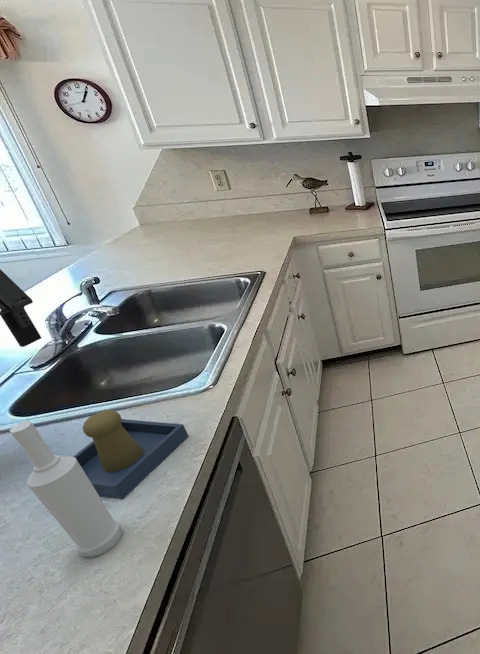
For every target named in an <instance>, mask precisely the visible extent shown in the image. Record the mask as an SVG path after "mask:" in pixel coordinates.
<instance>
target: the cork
mask: <svg viewBox="0 0 480 654" xmlns="http://www.w3.org/2000/svg"><path fill="white" fill-rule="evenodd" d="M122 419H123V418H122V416H121V414H120V413H119V412H117V411H116V410H112V409H106V410H102V411H99V412H96V413H94V414H92V415H91V416H90V417H88V418H86V419H85V421H84V422H83V425H82V431H83V433H84V435H86V436H87V437H89V438H91V439H92V441H94V443H95V446H96V449H97V452H98V455H99V458H100V460H101V463H102V466H103V469H104V471H106V472H116V471H120V470H122V469H125V468H127V467H129V466H130V465H132V464H133V463H135V462H136V461H137V460H138V459H139V458H140V457H141V455H142V454H143V450H142V448H141V447H140V446H139V444H138V443H137V442H136V441H135V440H134V439H133V438H132V436H131V435H130V434H129V433H128V432H127V431H126V430H125V429H124V427H123V426H122V425H121V422H122Z"/></svg>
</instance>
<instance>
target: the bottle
mask: <svg viewBox="0 0 480 654" xmlns="http://www.w3.org/2000/svg"><path fill="white" fill-rule="evenodd" d="M9 433H10V434H11V436H12V438H14V440H15V442H17V443H18V444H19V445H20V447H21V448H22V449H23V451H24V452H25V454H26V455H27V456H28V458H29V460H30V461H31V462H32V464H33V468H32V470H33V471H32V472H31V473H30V475H29V476H28V478H27V479H26V485H27V487H28V488H29V489H30V491H32V493H33V494H34V495H35V496H36V498H37V499H38V500H39V501H40V503H41V504H42V505H43V506H44V507H45V508H46V510H47V511H48V512H49V513H50V515H51V516H52V517H53V518H54V520H55V521H56V522H57V523H58V524H59V526H61V528H62V529H63V530H64V531H65V532H66V534H67V535H68V536H69V537H70V539H71V540H72V542H74V544H75V546H76V547H75V548H76V550H77V552H78V553H79V554H80V555H82V556H84V557H85V558H95V557H98V556H100V555H103V554H104V553H106V552H108V551H109V550H111V549H112V548H113V547H114V546H115V545H116V544H117V543H118V542H119V540H120V539H121V537H122V534H123V531H122V526H121V524H120V522H119V521H118V520H115V519H114V518H113V516H112V515H111V513H110V511H109V509H108V508H107V507H106V505H105V503H104V502H103V500H102V499H101V496H99V495H98V493H97V492H96V490H95V489H94V487H93V485H92V484H91V482H90V480H89V479H88V477H87V476H86V474H85V472H84V471H83V469H82V467H81V466H80V464H79V463H78V461H77V459H76V458H75V457H73V456H72V455H67V456H60V455H58V454H54V453H53V452H52V450H51V449H50V448H49V446H48V445H47V443H46V442H45V440H44V439H43V437H42V436H41V434H40V433H39V431H38V429H37V428H36V427H35V425H34V424H33V422H32V421H31V420H27V421H22V422H20V423H18V424H15V425H13V426H12V427H11V428H10V429H9Z"/></svg>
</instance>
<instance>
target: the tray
mask: <svg viewBox="0 0 480 654" xmlns="http://www.w3.org/2000/svg"><path fill="white" fill-rule="evenodd" d="M121 419H122V422H121V425H122V426H123V427H124V429H125V430H126V431H127V432H128V433H129V434H130V435H131V436H132V438H133V439H134V440H135V441H136V442H137V443H138V444H139V446H140V447H141V448H142V450H143V454H142V455H141V457H140V458H139V459H138V460H137V461H136V462H135V463H133V464H132V465H130V466H129V467H127V468H125V469H122V470H120V471H116V472H106V471H104V469H103V466H102V463H101V460H100V458H99V455H98V452H97V449H96V446H95V443H94V440H92V441H91V442H90V443H88V444H87V445H86V446H85V447H83V448H82V449H81V450H79V451H78V452H77V453H75V454H74V455H73V456H72V457H75V458H76V459H77V461H78V463H79V464H80V466H81V467H82V469H83V471H84V472H85V474H86V476H87V477H88V479H89V480H90V482H91V484H92V485H93V487H94V489H95V490H96V492H97V493H98V495H99V497H103V498H111V499H119V500H123V499H124V498H125V497H127V496H128V494H130V493H131V492H132V491H133V490H134V489H135V488H136V487H137V486H138V485H140V483H141V482H142V481H143V480H144V479H145V478H146V477H147V476H148V475H150V474H151V473H152V472H153V471H154V470H155V469H156V468H157V467H158V466H159V465H161V463H162V462H163V461H165V459H166V458H167V457H169V455H170V454H172V453H173V452H174V451H175V450H176V449H177V448H178V447H179V446H180V445H181V444H182V443H183V442H184V441H185V440H186V439H187V438H188V437H189V433H188V431H187V430H186V427H185V425H184V424H183V423H172V422H171V423H169V422H161V421H160V422H159V421H147V420H139V419H138V420H137V419H136V420H135V419H125V418H121Z"/></svg>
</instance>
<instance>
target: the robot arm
mask: <svg viewBox="0 0 480 654" xmlns="http://www.w3.org/2000/svg"><path fill="white" fill-rule="evenodd" d="M33 303H34V302H33V299H32V298H31V297H30V296H29V295H28V294H27V293H26V292H25V291H24V290H23V289H22V288H21V287H20V286H19V285H17V284H16V283H15V281H13V279H11V278H10V277H9V276H8V275H7V274H6V273H5V271H3V270H2V269H1V268H0V317H1V318H2V320H3V322H4V324H5V325H6V326H7V328H8V330H9V331H10V333H11V335H12V336H13V338H14V339H15V341H16V342H17V344H18V345H19V347H20V348H24V347H25V348H26V346H29V345H31V344H33V343H34V342H37V341H39V340H41V339H42V335H41V334H40V332H39V331H38V329H37V327H36V325H35V324H34V323H33V321H32V318H30V316H29V314H28V312H27V311H26V309H25V307H26V306H28V305H31V304H33Z"/></svg>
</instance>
